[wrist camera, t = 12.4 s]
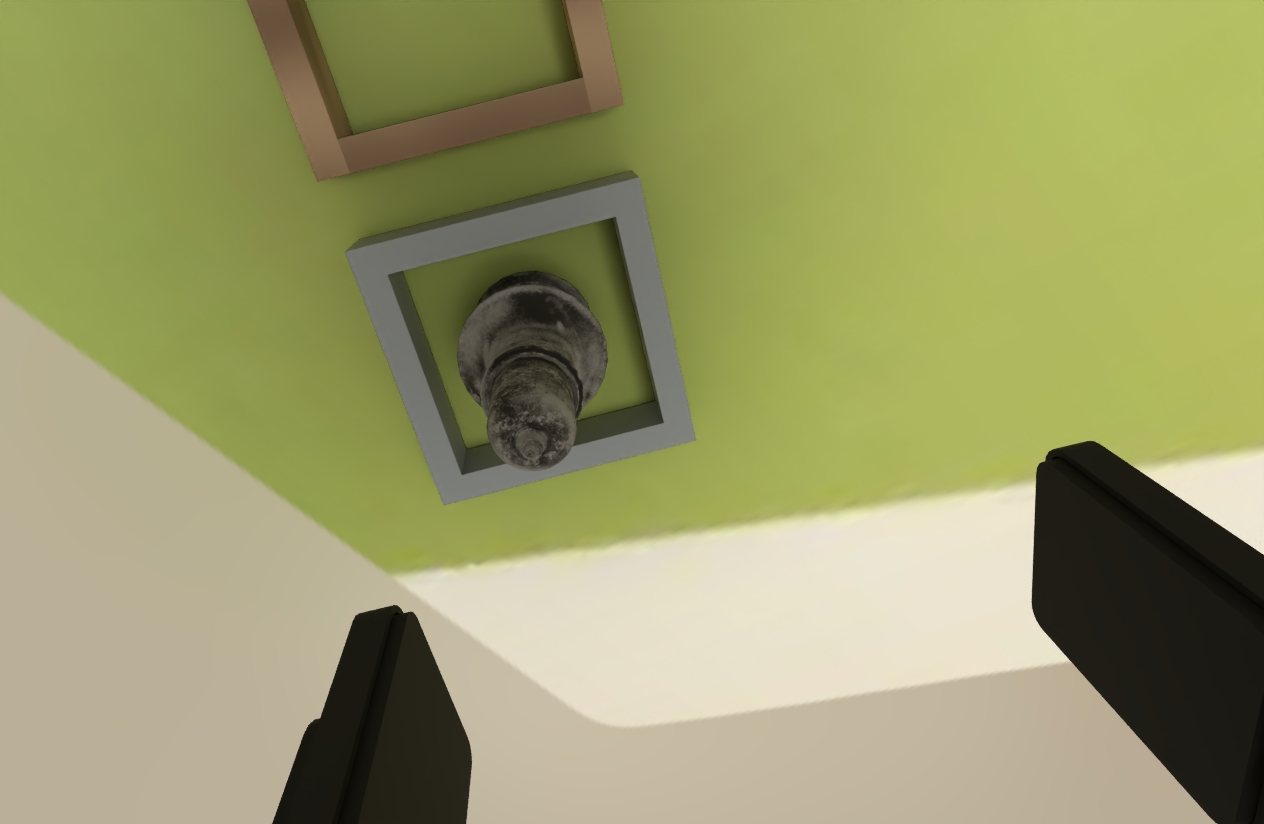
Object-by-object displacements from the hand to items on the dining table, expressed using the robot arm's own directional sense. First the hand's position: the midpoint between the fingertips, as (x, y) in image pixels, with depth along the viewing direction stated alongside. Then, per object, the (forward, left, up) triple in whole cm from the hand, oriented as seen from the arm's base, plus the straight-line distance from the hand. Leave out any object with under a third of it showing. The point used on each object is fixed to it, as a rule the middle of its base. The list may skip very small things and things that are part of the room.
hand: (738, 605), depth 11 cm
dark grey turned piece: (+2, -4, -23) cm, 24 cm away
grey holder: (+2, -4, -23) cm, 23 cm away
